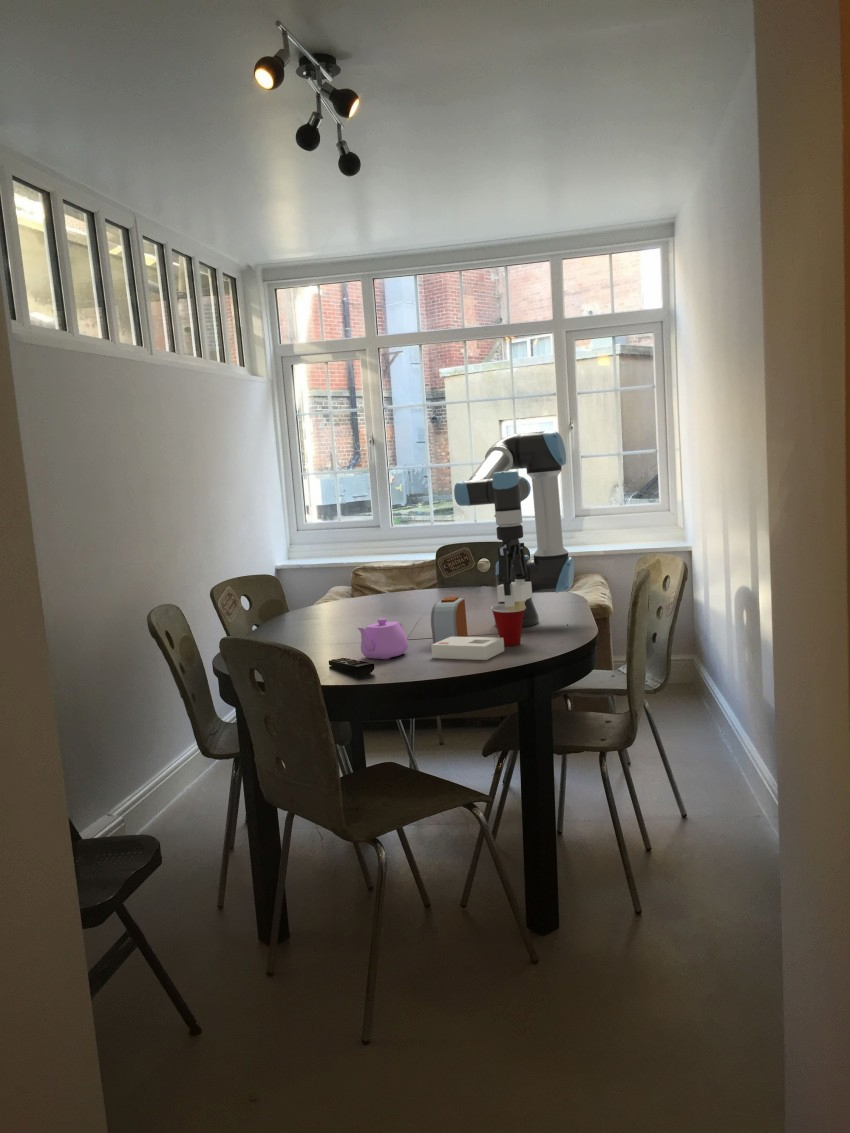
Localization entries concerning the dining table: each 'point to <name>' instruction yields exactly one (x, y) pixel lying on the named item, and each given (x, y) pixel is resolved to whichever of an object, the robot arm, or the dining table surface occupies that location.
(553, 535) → the robot arm
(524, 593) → the plug
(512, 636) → the plastic cup
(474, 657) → the socket
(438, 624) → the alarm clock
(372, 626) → the teapot
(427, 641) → the dining table surface
